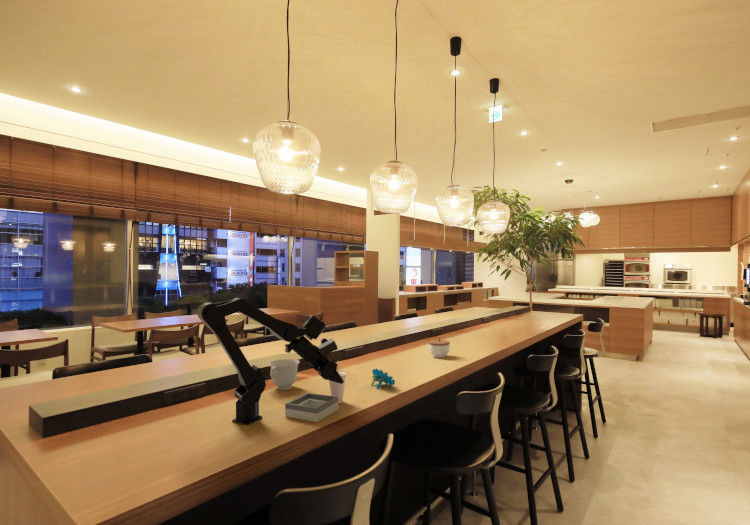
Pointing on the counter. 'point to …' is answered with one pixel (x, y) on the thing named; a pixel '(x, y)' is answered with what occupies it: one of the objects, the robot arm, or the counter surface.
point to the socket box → (311, 407)
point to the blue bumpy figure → (381, 378)
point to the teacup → (284, 372)
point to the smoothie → (338, 386)
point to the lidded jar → (439, 348)
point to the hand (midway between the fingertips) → (339, 379)
